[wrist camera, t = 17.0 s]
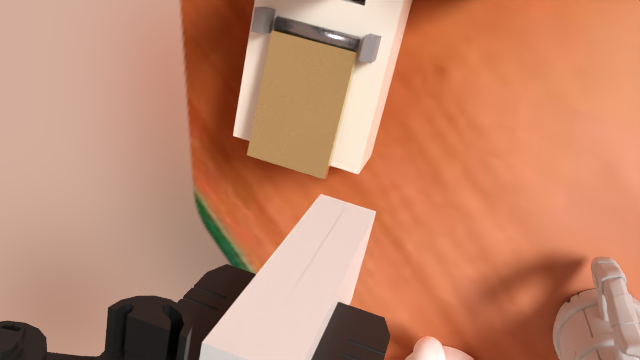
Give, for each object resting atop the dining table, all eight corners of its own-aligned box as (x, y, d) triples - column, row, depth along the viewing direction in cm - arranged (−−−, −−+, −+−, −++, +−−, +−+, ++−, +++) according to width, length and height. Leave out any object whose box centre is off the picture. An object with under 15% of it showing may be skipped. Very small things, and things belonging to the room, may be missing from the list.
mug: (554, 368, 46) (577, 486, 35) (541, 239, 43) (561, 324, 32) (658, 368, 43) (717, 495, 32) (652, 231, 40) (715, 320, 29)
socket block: (299, -115, 39) (265, -135, 33) (435, -86, 38) (425, -102, 31) (257, 121, 46) (222, 141, 40) (371, 155, 44) (352, 182, 38)
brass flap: (279, 15, 37) (274, 15, 37) (362, 37, 36) (359, 37, 35) (251, 152, 41) (246, 155, 40) (327, 176, 39) (324, 179, 39)
